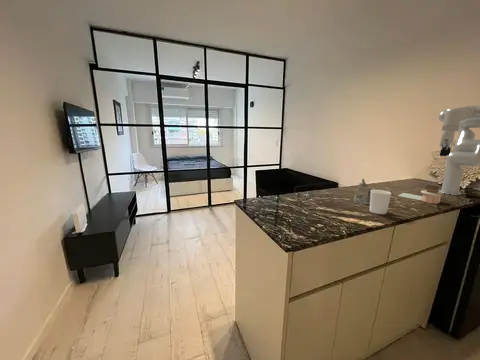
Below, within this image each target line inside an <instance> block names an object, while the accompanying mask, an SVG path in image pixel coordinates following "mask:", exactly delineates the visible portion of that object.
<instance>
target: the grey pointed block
mask: <svg viewBox="0 0 480 360" xmlns="http://www.w3.org/2000/svg"><path fill="white" fill-rule="evenodd" d="M358 184H359V185H358V187H357V192H356V195H354V197H353V202H354V203H356V204H361V205H370V194H371V190H379V187H377V186H376V187H370V186H368V185H367V183H366V182H365V178H362V179H361V182H360V183H358Z"/></svg>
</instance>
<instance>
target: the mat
mask: <svg viewBox="0 0 480 360" xmlns="http://www.w3.org/2000/svg"><path fill="white" fill-rule="evenodd" d="M397 196H398V197H402V198H407V199H411V200H412V199H413V200H418V201H422V195H417V194H412V193H407V192H402V193H400V194H398V195H397Z"/></svg>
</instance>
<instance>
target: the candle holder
mask: <svg viewBox="0 0 480 360" xmlns="http://www.w3.org/2000/svg"><path fill="white" fill-rule="evenodd" d="M391 196H392V192H391V191H388V190H385V189H384V190H383V189H378V190H371V194H370V204H369V210H368V211H369V212H370V213H373V214H376V215H386V214H387V213H388V209H389V204H390V200H391Z"/></svg>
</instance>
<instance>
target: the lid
mask: <svg viewBox="0 0 480 360" xmlns="http://www.w3.org/2000/svg"><path fill="white" fill-rule="evenodd" d="M438 190H440V185H439V184H432V183H429V184H427V187H426V189H423V190H421V191H420V193H421V194H422V195H423V194H426V195H431V196H441V197H444V195H445V194H444V193H441V192H438Z"/></svg>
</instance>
